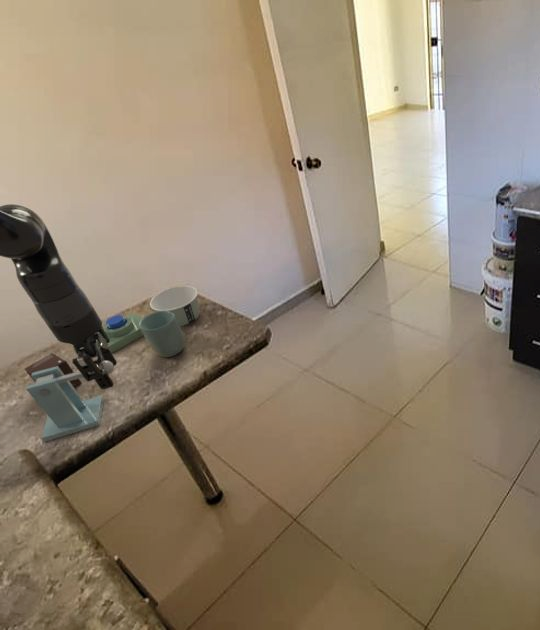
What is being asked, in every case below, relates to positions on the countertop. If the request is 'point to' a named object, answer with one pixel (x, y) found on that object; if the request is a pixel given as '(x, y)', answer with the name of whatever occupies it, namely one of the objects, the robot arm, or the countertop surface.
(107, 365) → the flush lever
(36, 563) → the countertop surface
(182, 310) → the food container
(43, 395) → the lever bracket
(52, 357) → the box
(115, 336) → the button block
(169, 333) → the cup
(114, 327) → the flush button
